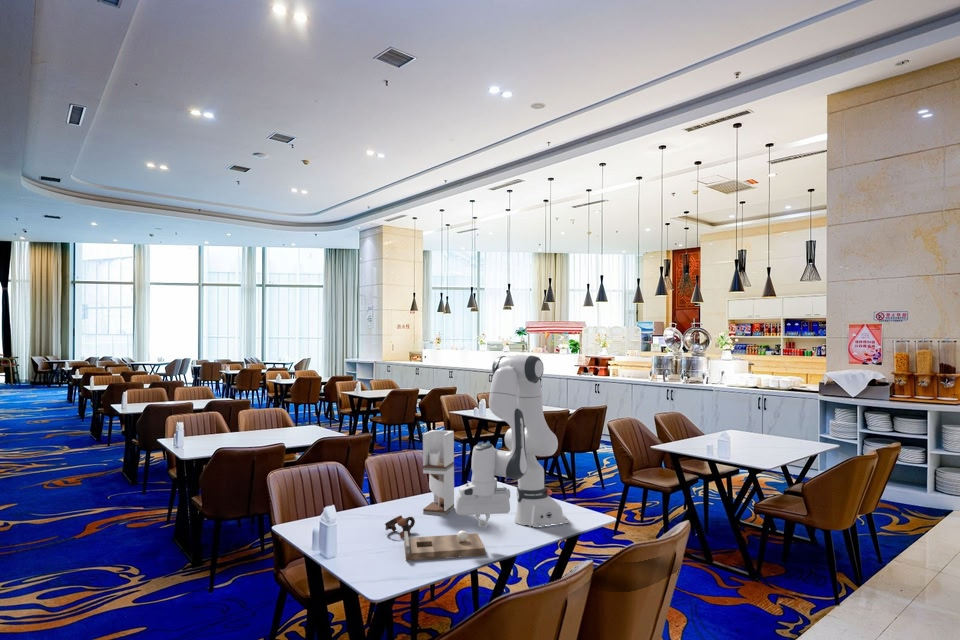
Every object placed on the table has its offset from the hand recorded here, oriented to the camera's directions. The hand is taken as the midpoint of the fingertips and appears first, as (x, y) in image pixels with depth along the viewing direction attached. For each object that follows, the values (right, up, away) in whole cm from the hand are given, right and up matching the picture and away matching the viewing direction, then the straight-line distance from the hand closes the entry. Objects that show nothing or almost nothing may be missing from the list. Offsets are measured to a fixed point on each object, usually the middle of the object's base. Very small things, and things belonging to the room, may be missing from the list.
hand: (482, 526), depth 213 cm
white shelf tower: (-19, -10, +46) cm, 50 cm away
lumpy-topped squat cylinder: (+2, -11, +74) cm, 74 cm away
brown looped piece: (-32, -9, +15) cm, 37 cm away
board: (-14, -8, -2) cm, 16 cm away
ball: (-7, -3, -1) cm, 8 cm away
